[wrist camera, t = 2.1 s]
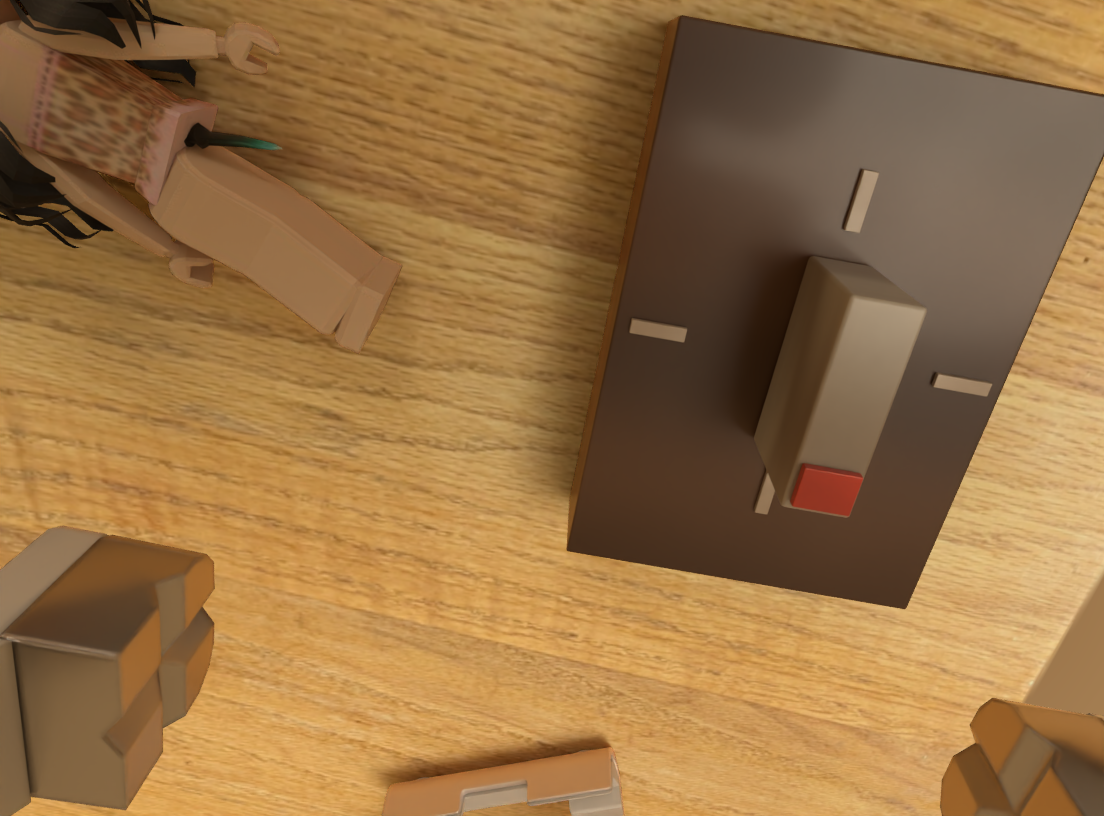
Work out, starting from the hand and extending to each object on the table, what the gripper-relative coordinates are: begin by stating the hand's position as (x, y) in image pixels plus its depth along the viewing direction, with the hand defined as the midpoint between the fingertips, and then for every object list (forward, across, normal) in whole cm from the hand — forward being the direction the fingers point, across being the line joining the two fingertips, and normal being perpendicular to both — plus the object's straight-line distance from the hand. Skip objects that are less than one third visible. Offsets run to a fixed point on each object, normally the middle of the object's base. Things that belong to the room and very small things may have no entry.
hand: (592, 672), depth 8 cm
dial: (+13, -6, 0) cm, 14 cm away
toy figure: (+16, +12, -2) cm, 20 cm away
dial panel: (+16, -6, 0) cm, 17 cm away
